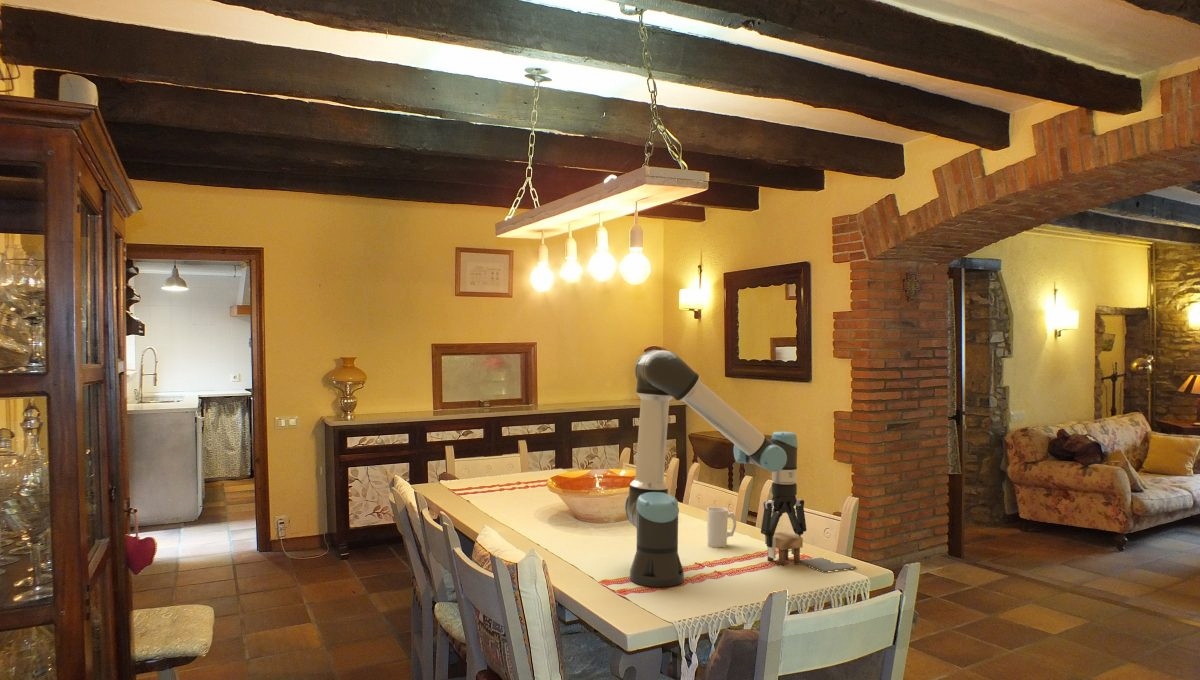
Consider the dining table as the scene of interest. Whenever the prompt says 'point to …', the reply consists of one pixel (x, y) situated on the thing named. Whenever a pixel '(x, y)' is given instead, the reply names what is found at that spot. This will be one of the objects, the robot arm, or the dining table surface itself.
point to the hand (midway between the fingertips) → (783, 556)
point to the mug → (719, 526)
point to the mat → (826, 564)
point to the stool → (787, 546)
